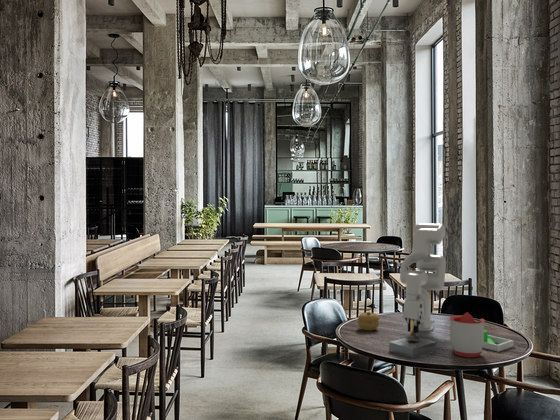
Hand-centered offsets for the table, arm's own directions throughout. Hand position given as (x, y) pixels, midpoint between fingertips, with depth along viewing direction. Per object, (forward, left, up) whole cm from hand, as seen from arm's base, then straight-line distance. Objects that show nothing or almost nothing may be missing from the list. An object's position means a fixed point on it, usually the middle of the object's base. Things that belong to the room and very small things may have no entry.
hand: (413, 331), depth 286 cm
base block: (+17, +13, -4) cm, 22 cm away
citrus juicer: (0, +32, -4) cm, 32 cm away
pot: (+3, -28, -4) cm, 28 cm away
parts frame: (-22, +29, -4) cm, 37 cm away
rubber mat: (0, 0, -4) cm, 4 cm away
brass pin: (0, 0, -3) cm, 3 cm away
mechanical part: (-22, +28, -4) cm, 36 cm away
